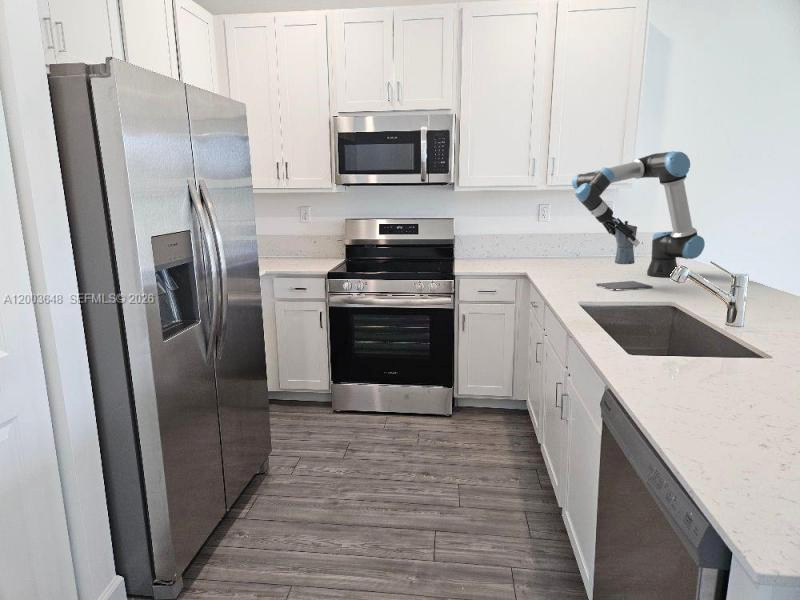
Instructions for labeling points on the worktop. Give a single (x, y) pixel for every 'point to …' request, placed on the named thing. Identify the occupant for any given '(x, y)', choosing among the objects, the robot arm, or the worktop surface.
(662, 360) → the worktop surface
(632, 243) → the robot arm
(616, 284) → the charcoal mat
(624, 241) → the moka pot
